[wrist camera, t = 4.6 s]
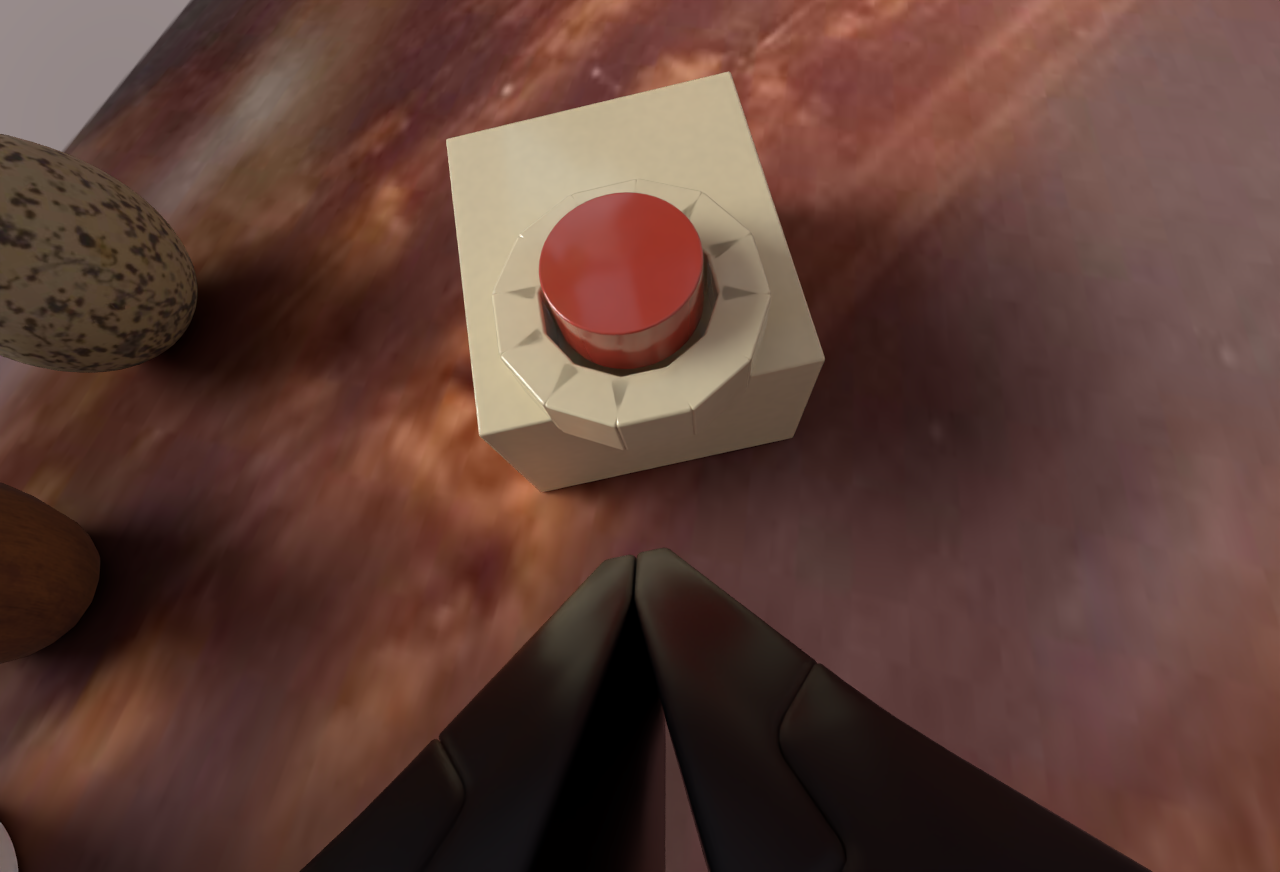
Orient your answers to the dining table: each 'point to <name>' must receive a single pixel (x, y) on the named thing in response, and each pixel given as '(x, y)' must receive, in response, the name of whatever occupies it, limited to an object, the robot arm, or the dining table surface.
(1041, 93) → the dining table surface
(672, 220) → the red push button
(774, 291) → the button base
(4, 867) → the cup
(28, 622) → the wooden figurine
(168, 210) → the dining table surface
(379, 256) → the dining table surface
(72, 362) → the decorative egg
